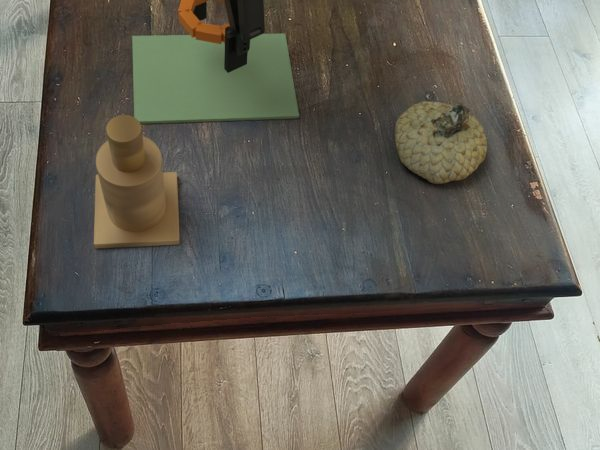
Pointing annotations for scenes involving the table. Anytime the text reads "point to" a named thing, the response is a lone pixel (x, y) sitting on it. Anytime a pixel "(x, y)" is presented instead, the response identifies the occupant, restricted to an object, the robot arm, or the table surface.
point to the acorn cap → (440, 141)
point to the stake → (133, 190)
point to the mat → (210, 81)
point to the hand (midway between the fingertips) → (215, 42)
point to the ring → (199, 23)
